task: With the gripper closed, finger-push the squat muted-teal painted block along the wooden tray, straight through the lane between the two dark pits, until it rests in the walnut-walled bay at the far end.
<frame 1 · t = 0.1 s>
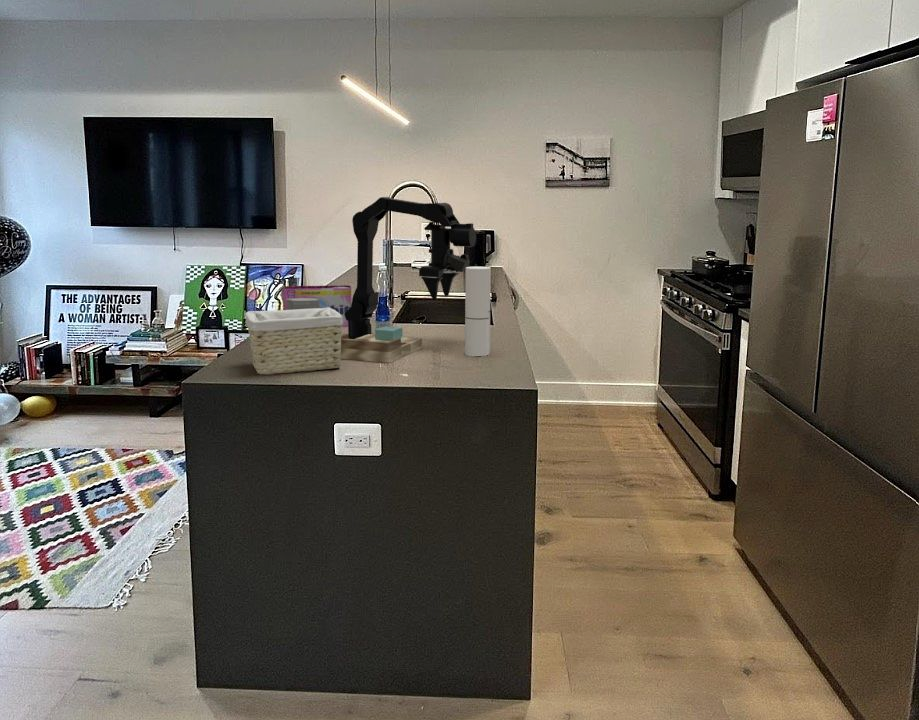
hand: (440, 297, 246), 15 cm above the countertop, tool pointing down, fingers open, 9 cm apart
gum box: (318, 326, 282), on the countertop
block: (388, 338, 243), point 3 cm above the countertop, touching wooden tray
skincare box: (304, 353, 237), on the countertop
wooden tray: (378, 352, 237), on the countertop
cylindrical container: (477, 354, 237), on the countertop
storage basket: (295, 368, 219), on the countertop
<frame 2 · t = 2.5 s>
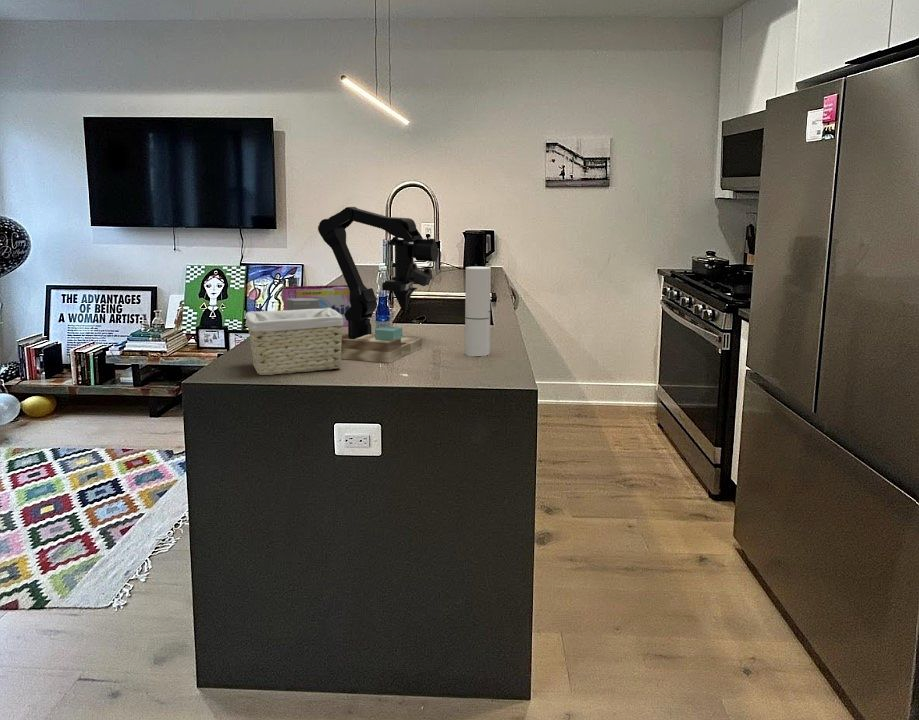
hand: (404, 311, 252), 10 cm above the countertop, tool pointing down, fingers closed
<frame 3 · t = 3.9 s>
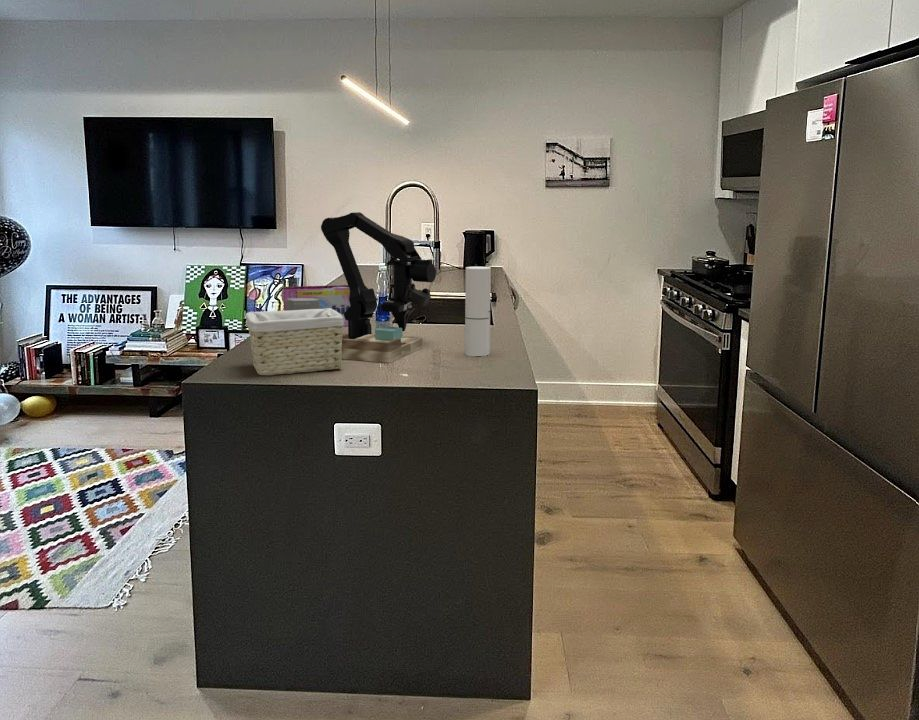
hand: (402, 331, 252), 4 cm above the countertop, tool pointing down, fingers closed
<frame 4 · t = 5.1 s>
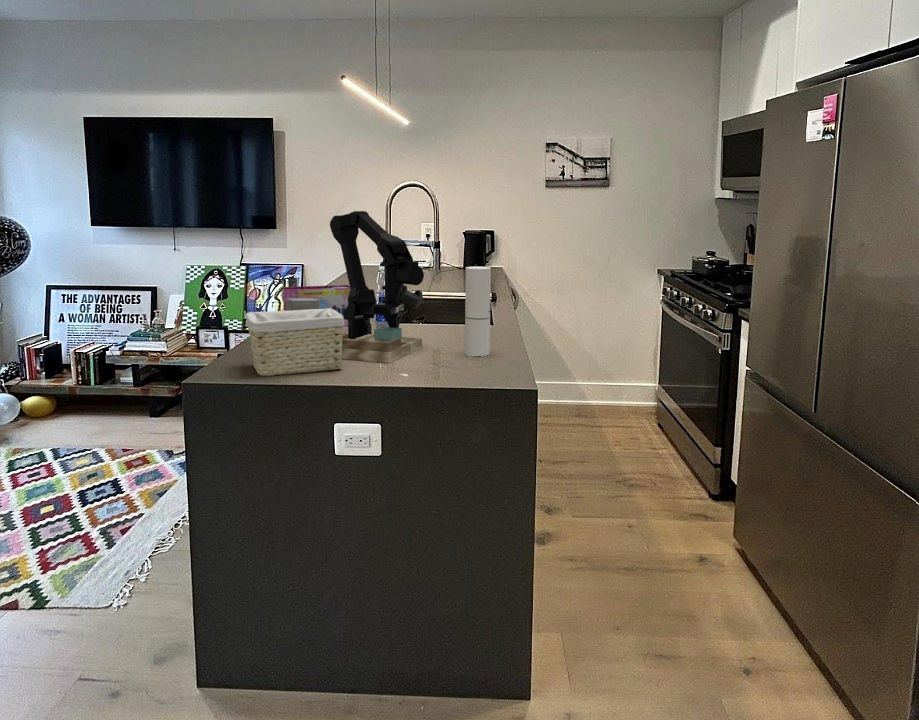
hand: (394, 333, 246), 4 cm above the countertop, tool pointing down, fingers closed
block: (388, 338, 243), point 3 cm above the countertop, touching wooden tray, gripper
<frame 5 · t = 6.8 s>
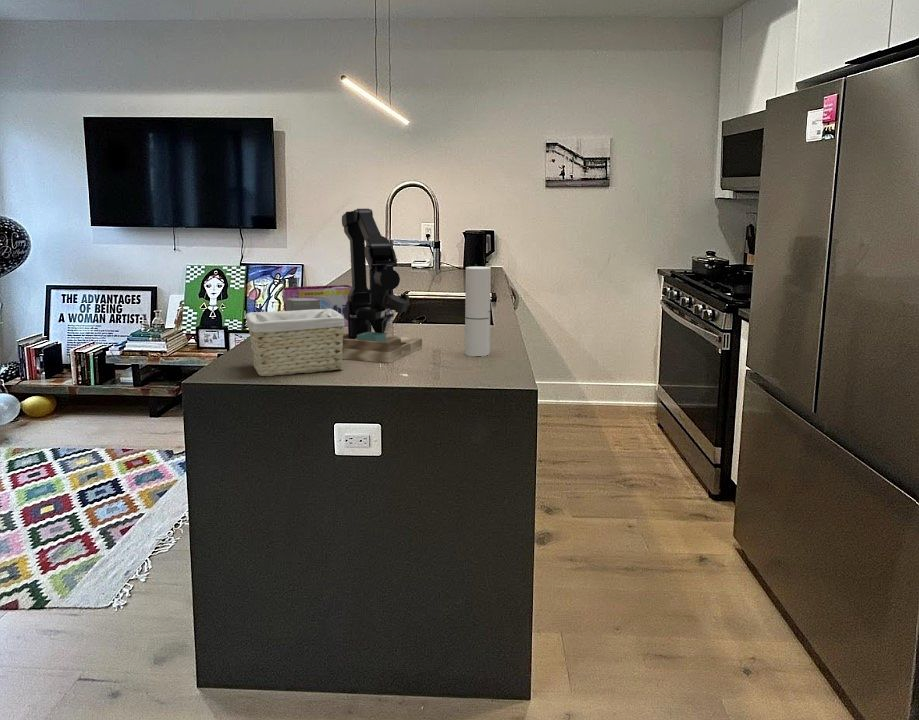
hand: (380, 339, 238), 4 cm above the countertop, tool pointing down, fingers closed
block: (371, 344, 234), point 3 cm above the countertop, touching wooden tray, gripper
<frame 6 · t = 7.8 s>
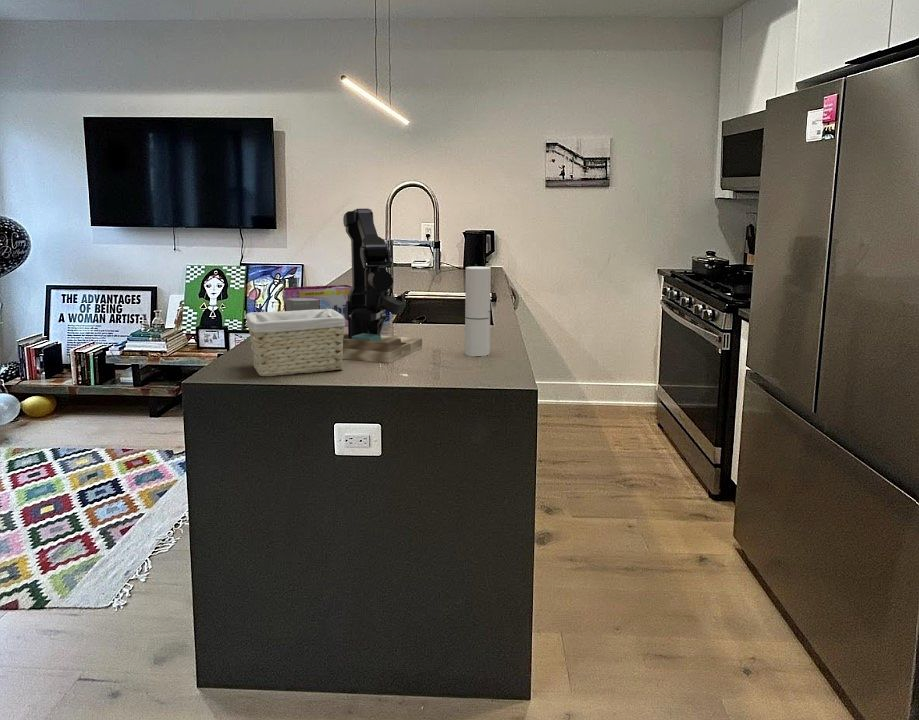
hand: (376, 340, 235), 4 cm above the countertop, tool pointing down, fingers closed
block: (366, 346, 232), point 3 cm above the countertop, touching wooden tray, gripper
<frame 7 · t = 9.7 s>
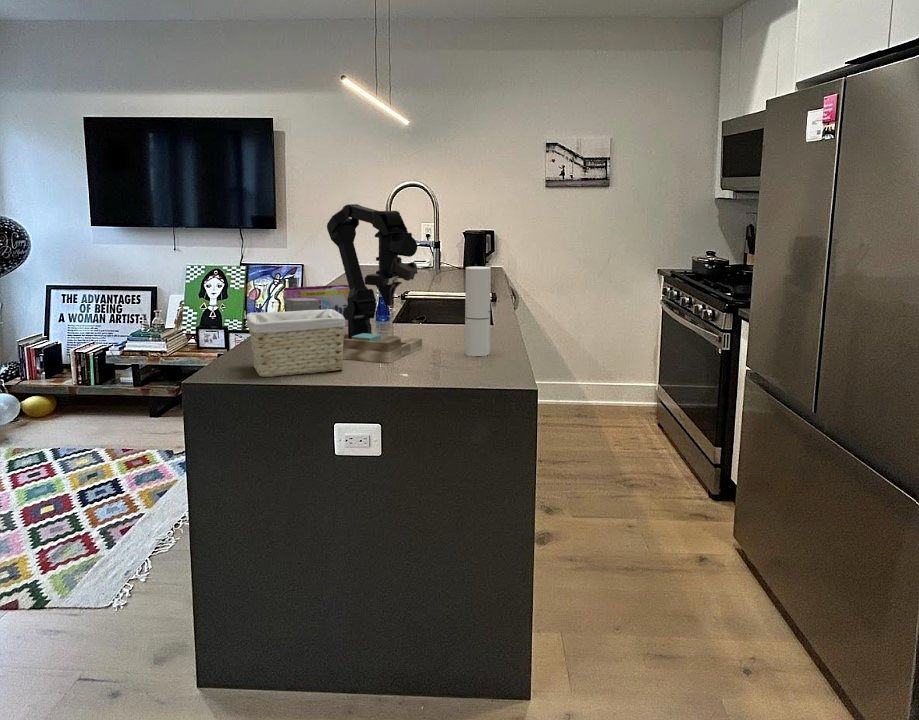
hand: (388, 305, 246), 12 cm above the countertop, tool pointing down, fingers closed
block: (366, 346, 232), point 3 cm above the countertop, touching wooden tray
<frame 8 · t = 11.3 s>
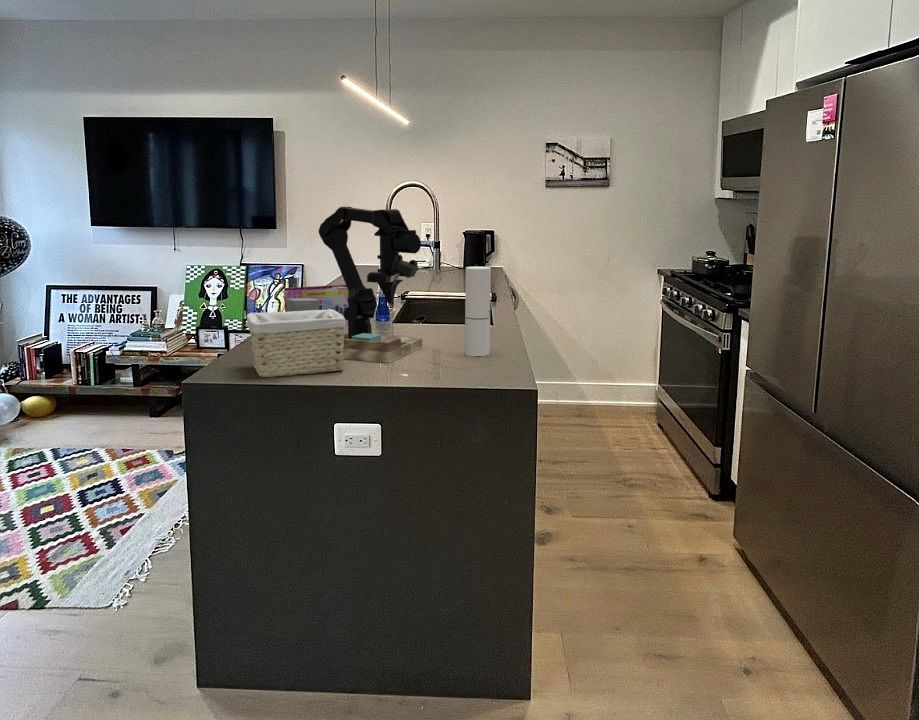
hand: (390, 303, 249), 13 cm above the countertop, tool pointing down, fingers closed
at the end: block inside the target area on the wooden tray (0.8 cm from its centre), point 3.0 cm above the wooden tray's base; block tilted 0° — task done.
